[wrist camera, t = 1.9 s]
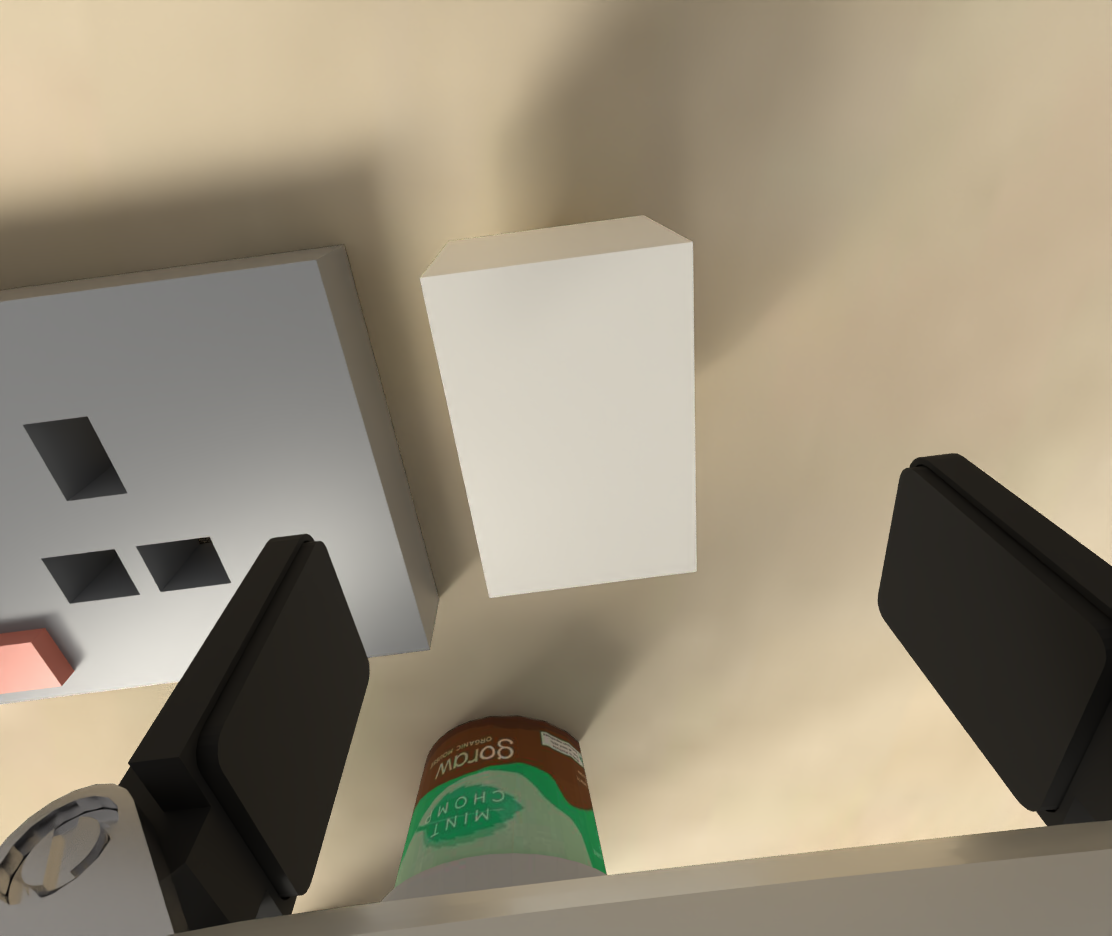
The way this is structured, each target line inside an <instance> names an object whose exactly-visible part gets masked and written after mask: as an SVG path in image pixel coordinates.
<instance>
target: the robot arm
mask: <svg viewBox="0 0 1112 936" xmlns="http://www.w3.org/2000/svg"><path fill="white" fill-rule="evenodd" d="M878 606H879V610H880V613H881V615H882V617H883V619H884V621H885V622H886V623H887V625H888V626H889V627H890V629H891V630H892V631H893V633H894V634H895V635H896V637H897V638H898V640H899V641H900V642H901V644H902V645H903V646H904V648H905V649H906V650H907V652H908V653H909V654H910V656H911V657H912V658H913V660H914V661H915V663H916V664H917V665H918V667H919V668H920V669H921V671H922V672H923V673H924V675H925V676H926V677H927V679H928V680H929V681H930V683H931V684H932V686H933V687H934V688H935V690H936V691H937V692H938V694H939V695H940V696H941V698H942V699H943V700H944V702H945V703H946V704H947V706H948V707H949V709H950V710H951V711H952V713H953V714H954V715H955V717H956V718H957V719H958V721H959V722H960V723H961V725H962V726H963V727H964V729H965V730H966V732H967V733H968V734H969V736H970V737H971V738H972V740H973V741H974V742H975V744H976V745H977V746H978V748H979V749H980V750H981V752H982V753H983V755H984V756H985V757H986V759H987V760H988V761H989V763H990V764H991V765H992V767H993V768H994V769H995V771H996V772H997V773H998V775H999V776H1000V778H1001V779H1002V780H1003V782H1004V783H1005V784H1006V786H1007V787H1008V788H1009V790H1010V791H1011V792H1012V794H1013V795H1014V796H1015V798H1016V799H1017V800H1018V801H1019V803H1020V804H1021V805H1022V806H1024V807H1025V808H1026V809H1027V810H1030V811H1033V812H1034V811H1036V812H1037V813H1038V815H1039V816H1040V817H1041V819H1042V820H1043V821H1044V822H1045V824H1046V825H1047V826H1046V827H1037V828H1027V829H1018V830H1009V831H1000V832H990V833H981V834H972V835H963V836H953V837H944V838H935V839H926V840H916V841H907V842H898V843H889V844H879V845H870V846H861V847H852V848H843V849H834V850H825V851H816V852H807V853H798V854H789V855H781V856H772V857H763V858H754V859H745V860H736V861H727V862H719V863H710V864H701V865H692V866H684V867H675V868H666V869H657V870H649V871H640V872H631V873H622V874H614V875H605V876H596V877H588V878H579V879H571V880H562V881H554V882H546V883H537V884H529V885H520V886H512V887H504V888H495V889H487V890H479V891H470V892H462V893H453V894H445V895H437V896H428V897H420V898H412V899H403V900H395V901H386V902H378V903H370V904H363V905H356V906H349V907H341V908H334V909H327V910H320V911H312V912H305V913H298V914H292V911H293V907H294V904H295V901H296V897H297V896H298V895H304V894H305V893H306V892H307V890H308V888H309V887H310V884H311V881H312V878H313V875H314V871H315V868H316V864H317V861H318V857H319V853H320V850H321V846H322V843H323V839H324V836H325V832H326V829H327V825H328V822H329V818H330V815H331V811H332V808H333V804H334V801H335V797H336V794H337V790H338V787H339V783H340V780H341V776H342V773H343V769H344V766H345V762H346V759H347V755H348V751H349V748H350V744H351V741H352V737H353V734H354V730H355V727H356V723H357V720H358V716H359V713H360V709H361V706H362V702H363V699H364V695H365V692H366V688H367V685H368V681H369V661H368V657H367V655H366V652H365V649H364V647H363V644H362V641H361V639H360V636H359V633H358V631H357V628H356V625H355V622H354V620H353V617H352V614H351V612H350V609H349V606H348V604H347V601H346V598H345V596H344V593H343V590H342V588H341V585H340V582H339V580H338V577H337V574H336V572H335V569H334V566H333V564H332V561H331V558H330V555H329V553H328V550H327V548H326V546H325V544H324V543H323V542H322V541H314V539H313V538H312V537H311V535H309V534H299V535H291V536H283V537H275V538H271V539H270V540H269V541H268V542H267V543H266V544H265V546H264V548H263V549H262V551H261V552H260V554H259V556H258V557H257V559H256V560H255V562H254V564H253V565H252V567H251V568H250V570H249V571H248V573H247V575H246V576H245V578H244V579H243V581H242V583H241V584H240V586H239V587H238V589H237V591H236V592H235V594H234V595H233V597H232V598H231V600H230V602H229V603H228V605H227V606H226V608H225V610H224V611H223V613H222V614H221V616H220V618H219V619H218V621H217V622H216V624H215V625H214V627H213V629H212V630H211V632H210V633H209V635H208V637H207V638H206V640H205V641H204V643H203V645H202V646H201V648H200V649H199V651H198V652H197V654H196V656H195V657H194V659H193V660H192V662H191V664H190V665H189V667H188V668H187V670H186V672H185V673H184V675H183V676H182V678H181V679H180V681H179V683H178V684H177V686H176V687H175V689H174V691H173V692H172V694H171V695H170V697H169V699H168V700H167V702H166V703H165V705H164V707H163V708H162V710H161V711H160V713H159V714H158V716H157V718H156V719H155V721H154V722H153V724H152V726H151V727H150V729H149V730H148V732H147V734H146V735H145V737H144V738H143V740H142V741H141V743H140V745H139V746H138V748H137V749H136V751H135V753H134V754H133V756H132V757H131V759H130V761H129V762H128V764H129V765H130V768H129V769H128V771H127V772H126V774H125V776H124V777H123V779H122V780H121V782H120V784H119V785H115V784H95V785H92V786H88V787H85V788H81V789H78V790H75V791H73V792H71V793H69V794H67V795H65V796H63V797H61V798H59V799H57V800H55V801H53V802H51V803H50V804H48V805H47V806H45V807H44V808H42V809H41V810H39V811H38V812H37V813H35V814H34V815H32V816H31V817H29V818H28V819H27V820H26V821H25V822H24V823H23V824H22V825H21V826H19V827H18V828H17V829H16V830H15V831H14V832H13V833H12V834H11V835H10V836H9V837H7V839H6V840H5V841H4V842H3V844H2V845H1V846H0V936H1112V566H1111V565H1109V564H1108V563H1107V562H1105V561H1104V560H1103V559H1101V558H1100V557H1099V556H1097V555H1096V554H1095V553H1093V552H1092V551H1090V550H1089V549H1088V548H1086V547H1085V546H1084V545H1082V544H1081V543H1080V542H1078V541H1077V540H1076V539H1074V538H1073V537H1071V536H1070V535H1069V534H1067V533H1066V532H1065V531H1063V530H1062V529H1061V528H1059V527H1058V526H1057V525H1055V524H1054V523H1052V522H1051V521H1050V520H1048V519H1047V518H1046V517H1044V516H1043V515H1042V514H1040V513H1039V512H1038V511H1036V510H1035V509H1033V508H1032V507H1031V506H1029V505H1028V504H1027V503H1025V502H1024V501H1023V500H1021V499H1020V498H1019V497H1017V496H1016V495H1014V494H1013V493H1012V492H1010V491H1009V490H1008V489H1006V488H1005V487H1004V486H1002V485H1001V484H1000V483H998V482H997V481H995V480H994V479H993V478H991V477H990V476H989V475H987V474H986V473H985V472H983V471H982V470H981V469H979V468H978V467H976V466H975V465H974V464H972V463H971V462H970V461H968V460H967V459H966V458H964V457H963V456H961V455H959V454H955V453H951V454H943V455H935V456H927V457H919V458H916V459H915V460H913V462H912V463H911V465H910V468H906V469H904V470H903V471H902V473H901V475H900V479H899V484H898V490H897V495H896V500H895V506H894V511H893V517H892V522H891V528H890V533H889V539H888V544H887V549H886V555H885V560H884V566H883V571H882V577H881V582H880V588H879V593H878Z"/></svg>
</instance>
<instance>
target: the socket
mask: <svg viewBox="0 0 1112 936" xmlns="http://www.w3.org/2000/svg"><path fill="white" fill-rule="evenodd" d="M299 534H309V535H311V537H312V538H313V539H314V541H322V542H323V543H324V544H325V546H326V548H327V550H328V553H329V555H330V558H331V561H332V564H333V566H334V569H335V572H336V574H337V577H338V580H339V582H340V585H341V588H342V590H343V593H344V596H345V598H346V601H347V604H348V606H349V609H350V612H351V614H352V617H353V620H354V622H355V625H356V628H357V631H358V633H359V636H360V639H361V641H362V644H363V647H364V649H365V652H366V655H367V657H368V658H370V657H378V656H386V655H394V654H402V653H409V652H417V651H425V650H430V647H431V641H432V636H433V630H434V625H435V619H436V614H437V608H438V602H439V597H438V593H437V589H436V585H435V582H434V578H433V574H432V571H431V567H430V563H429V559H428V556H427V552H426V548H425V544H424V541H423V537H422V533H421V530H420V526H419V522H418V518H417V515H416V511H415V507H414V503H413V500H412V496H411V492H410V488H409V485H408V481H407V477H406V474H405V470H404V466H403V462H402V459H401V455H400V451H399V447H398V444H397V440H396V436H395V433H394V429H393V425H392V421H391V418H390V414H389V410H388V406H387V403H386V399H385V395H384V391H383V388H382V384H381V380H380V377H379V373H378V369H377V365H376V362H375V358H374V354H373V350H372V347H371V343H370V339H369V336H368V332H367V328H366V324H365V321H364V317H363V313H362V309H361V306H360V302H359V298H358V294H357V291H356V287H355V283H354V280H353V276H352V272H351V268H350V265H349V261H348V257H347V253H346V250H345V246H344V245H337V246H329V247H322V248H314V249H307V250H299V251H292V252H284V253H277V254H269V255H262V256H254V257H247V258H239V259H232V260H224V261H216V262H209V263H201V264H194V265H186V266H179V267H171V268H164V269H156V270H149V271H141V272H134V273H126V274H119V275H111V276H104V277H96V278H89V279H81V280H74V281H66V282H59V283H51V284H44V285H36V286H29V287H21V288H14V289H6V290H0V704H7V703H15V702H23V701H31V700H39V699H47V698H55V697H63V696H71V695H78V694H86V693H94V692H102V691H110V690H118V689H126V688H134V687H141V686H149V685H157V684H165V683H173V682H179V681H180V679H181V678H182V676H183V675H184V673H185V672H186V670H187V668H188V667H189V665H190V664H191V662H192V660H193V659H194V657H195V656H196V654H197V652H198V651H199V649H200V648H201V646H202V645H203V643H204V641H205V640H206V638H207V637H208V635H209V633H210V632H211V630H212V629H213V627H214V625H215V624H216V622H217V621H218V619H219V618H220V616H221V614H222V613H223V611H224V610H225V608H226V606H227V605H228V603H229V602H230V600H231V598H232V597H233V595H234V594H235V592H236V591H237V589H238V587H239V586H240V584H241V583H242V581H243V579H244V578H245V576H246V575H247V573H248V571H249V570H250V568H251V567H252V565H253V564H254V562H255V560H256V559H257V557H258V556H259V554H260V552H261V551H262V549H263V548H264V546H265V544H266V543H267V542H268V541H269V540H270V539H271V538H275V537H283V536H291V535H299ZM204 537H210V538H211V541H212V542H208V543H201V544H200V542H199V540H198V538H204Z"/></svg>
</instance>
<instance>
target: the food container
mask: <svg viewBox="0 0 1112 936" xmlns="http://www.w3.org/2000/svg"><path fill="white" fill-rule="evenodd" d="M605 875H607V874H606V869H605V864H604V860H603V855H602V850H601V845H600V841H599V836H598V831H597V826H596V822H595V817H594V812H593V808H592V803H591V798H590V793H589V789H588V784H587V779H586V774H585V770H584V765H583V760H582V755H581V751H580V746H579V742H577V741H576V740H575V739H574V738H573V737H572V736H571V735H570V734H568V733H567V732H566V731H564V730H562V729H560V728H558V727H555V726H553V725H551V724H549V723H547V722H545V721H541V720H536V719H531V718H527V717H522V716H490V717H486V718H482V719H477V720H473V721H469V722H467V723H464V724H462V725H460V726H457V727H456V728H454V729H452V730H450V731H449V732H447V733H446V734H445V735H444V736H442V737H441V738H440V739H439V740H438V741H437V742H436V743H435V745H434V746H433V747H432V749H431V750H430V752H429V754H428V756H427V760H426V763H425V767H424V771H423V775H422V779H421V783H420V787H419V791H418V795H417V799H416V803H415V807H414V811H413V815H412V819H411V823H410V827H409V831H408V835H407V839H406V843H405V847H404V851H403V855H402V859H401V863H400V867H399V871H398V875H397V879H396V883H395V887H394V889H392V890H391V891H390V892H389V893H388V894H387V895H386V896H385V897H384V898H383V899H382V900H381V902H386V901H395V900H403V899H412V898H420V897H428V896H437V895H445V894H453V893H462V892H470V891H479V890H487V889H495V888H504V887H512V886H520V885H529V884H537V883H546V882H554V881H562V880H571V879H579V878H588V877H596V876H605Z"/></svg>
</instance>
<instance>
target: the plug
mask: <svg viewBox="0 0 1112 936" xmlns="http://www.w3.org/2000/svg"><path fill="white" fill-rule="evenodd" d="M420 282H421V287H422V291H423V296H424V300H425V305H426V310H427V314H428V319H429V323H430V328H431V333H432V337H433V342H434V346H435V351H436V355H437V360H438V365H439V369H440V374H441V378H442V383H443V388H444V392H445V397H446V401H447V406H448V411H449V415H450V420H451V424H452V429H453V434H454V438H455V443H456V447H457V452H458V456H459V461H460V466H461V470H462V475H463V479H464V484H465V489H466V493H467V498H468V502H469V507H470V512H471V516H472V521H473V525H474V530H475V534H476V539H477V544H478V548H479V553H480V557H481V562H482V567H483V571H484V576H485V580H486V585H487V590H488V594H489V598H493V597H501V596H509V595H517V594H525V593H533V592H540V591H548V590H556V589H564V588H572V587H580V586H587V585H595V584H603V583H611V582H619V581H627V580H635V579H642V578H650V577H658V576H666V575H674V574H682V573H689V572H697V554H696V465H695V376H694V287H693V242H692V241H691V240H689V239H687V238H685V237H683V236H681V235H679V234H678V233H676V232H674V231H672V230H670V229H668V228H666V227H665V226H663V225H661V224H659V223H657V222H655V221H653V220H652V219H650V218H648V217H646V216H644V215H640V216H633V217H625V218H618V219H610V220H603V221H595V222H587V223H580V224H572V225H565V226H557V227H550V228H542V229H535V230H527V231H520V232H512V233H505V234H497V235H490V236H482V237H475V238H467V239H460V240H452V241H448V242H447V243H446V245H445V246H444V247H443V249H442V250H441V251H440V252H439V254H438V255H437V256H436V258H435V259H434V260H433V261H432V263H431V264H430V265H429V267H428V268H427V269H426V270H425V272H424V273H423V274H422V276H421V277H420Z"/></svg>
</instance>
